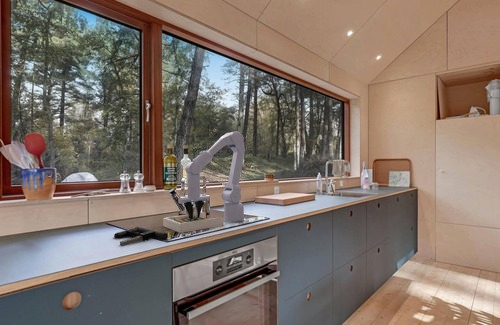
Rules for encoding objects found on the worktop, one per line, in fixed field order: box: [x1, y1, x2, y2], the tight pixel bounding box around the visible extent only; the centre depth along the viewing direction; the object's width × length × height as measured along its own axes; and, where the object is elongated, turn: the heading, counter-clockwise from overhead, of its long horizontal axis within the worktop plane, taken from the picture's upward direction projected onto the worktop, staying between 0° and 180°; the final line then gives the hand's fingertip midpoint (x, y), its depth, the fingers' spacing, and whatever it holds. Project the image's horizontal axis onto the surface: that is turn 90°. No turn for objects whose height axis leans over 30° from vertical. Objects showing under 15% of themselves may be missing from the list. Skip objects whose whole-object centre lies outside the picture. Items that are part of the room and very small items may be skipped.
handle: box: [191, 206, 198, 221], centre depth 131 cm, size 3×3×7 cm
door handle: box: [113, 225, 169, 247], centre depth 110 cm, size 3×20×16 cm
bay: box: [162, 211, 225, 234], centre depth 131 cm, size 22×17×4 cm
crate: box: [174, 217, 208, 223], centre depth 131 cm, size 12×14×3 cm
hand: (194, 217), depth 132 cm, fingers closed on handle, 3 cm apart
